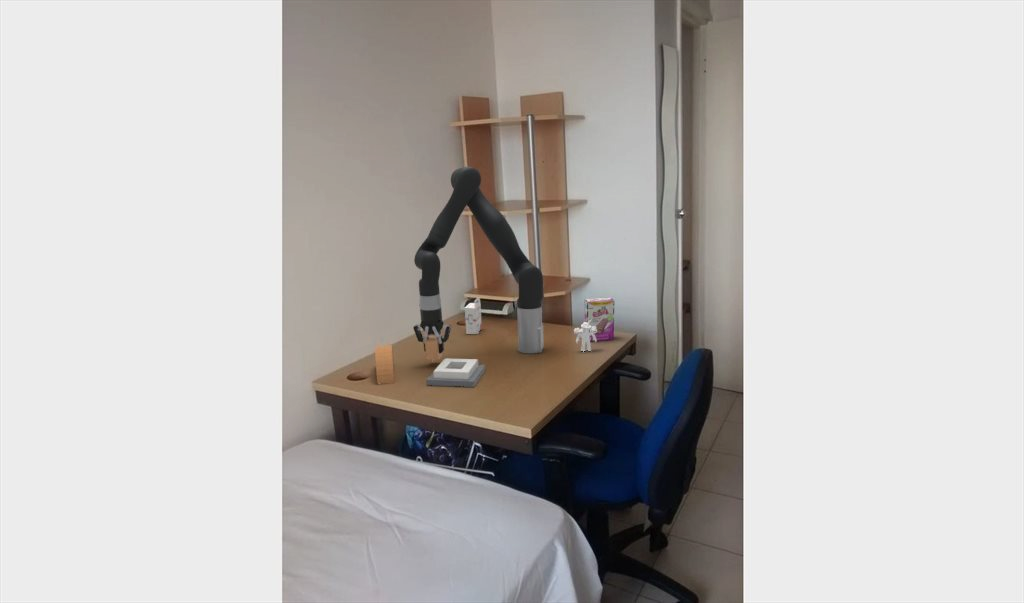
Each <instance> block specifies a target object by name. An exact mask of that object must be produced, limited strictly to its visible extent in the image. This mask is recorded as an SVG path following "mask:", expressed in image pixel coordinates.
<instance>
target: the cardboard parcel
mask: <svg viewBox="0 0 1024 603" xmlns="http://www.w3.org/2000/svg"><path fill="white" fill-rule="evenodd" d="M425 349H426V352H425V356H426V358H425V359H426V361H432V362H431V363H434V362H435V361H439V360H441V359H442V357H443V355H444V354H443V353H444V351H443V352H442V353H439V342H438V339H437V338H436V336H435V335H429V338H428V339H427V340H425Z"/></svg>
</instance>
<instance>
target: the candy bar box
mask: <svg viewBox="0 0 1024 603" xmlns="http://www.w3.org/2000/svg"><path fill="white" fill-rule="evenodd" d="M583 303H584V313H583V314H584V315H583V316H584V317H583V318H584V320H583V323H584V322H587V323H588V322H589V321H590V320H591V319H592V321H591V322H590V323H588V324H589V325H590V326H591V328H592V326H596V327H595V328H596V329H597V332H596V331H593V332H596V333H594V335H595V337H596V339H597V341H596V342H601V341H614V339H615V338H614V337H615V336H614V334H615V333H614V330H615V299H613V298H612V297H603V298H602V297H600V298H585V299H584V301H583ZM591 328H590V329H591ZM590 342H595V340H593V337H592V335H590Z"/></svg>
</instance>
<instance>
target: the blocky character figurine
mask: <svg viewBox="0 0 1024 603" xmlns="http://www.w3.org/2000/svg"><path fill="white" fill-rule="evenodd" d="M591 321H592V319H591V320H590V321H589V322H588V323H590V322H591ZM588 323H587V322H584V321H583V323H581V325H580V327H581V328H580V327H577V328H576V327H575V328H574V329H573V332H574V333H573V334H574V335H576V339H575V343H576V344H579V343H578V342H580V341H581V347H580V352H581V351H583V352H582V353H585V352H584V351H586V350H588V351H591V350H592V348H591V347H592V344H591V341H590V335H592V337H593V340H595V341H594V343H597V342H598V341H597V339H596V337H595V335H594V333H596V332H597V329H596V328H595V327H596V326H592V328H591V326H590V325H589V324H588ZM590 328H591V329H590ZM593 331H596V332H593ZM580 338H581V340H580ZM588 351H587V352H588ZM591 352H592V351H591Z"/></svg>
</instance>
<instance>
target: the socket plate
mask: <svg viewBox="0 0 1024 603" xmlns="http://www.w3.org/2000/svg"><path fill="white" fill-rule="evenodd" d="M485 372H486V365H485V364H479V359H475V358H473V359H471V358H470V359H469V358H447V357H446V358H444V359H443V360H442V362H440V364H438V365H437V367H435V369H434V370H433V372H432V373H431V374H430V376H428V378H426V386H430V385H432V386H434V387H454V386H461V387H460V388H475V386H476V385H477V383H478V382H479V381H480V379H481V378H480V377H482V376H483V375H484V373H485ZM482 374H483V375H482ZM463 386H464V387H463Z"/></svg>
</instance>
